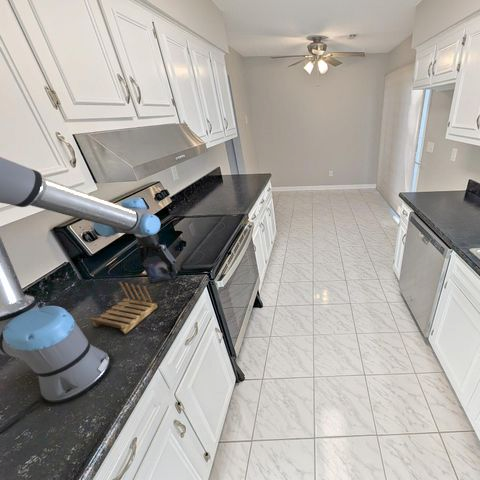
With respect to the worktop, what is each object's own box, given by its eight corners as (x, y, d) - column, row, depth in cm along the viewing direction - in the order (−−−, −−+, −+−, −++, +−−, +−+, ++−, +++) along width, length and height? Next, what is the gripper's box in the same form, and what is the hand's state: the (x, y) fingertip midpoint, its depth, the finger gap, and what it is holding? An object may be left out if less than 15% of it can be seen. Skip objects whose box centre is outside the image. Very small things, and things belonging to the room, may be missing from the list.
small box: (150, 284, 115) (141, 264, 110) (154, 276, 120) (146, 257, 116) (175, 279, 117) (167, 260, 112) (178, 271, 123) (171, 253, 118)
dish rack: (125, 334, 89) (112, 311, 84) (94, 326, 93) (80, 304, 88) (157, 306, 101) (147, 285, 96) (129, 301, 105) (118, 280, 100)
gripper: (175, 231, 108) (190, 273, 118) (132, 228, 114) (150, 267, 125) (161, 240, 102) (178, 283, 112) (116, 235, 108) (136, 276, 118)
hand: (163, 275), depth 118 cm, fingers closed on small box, 12 cm apart
